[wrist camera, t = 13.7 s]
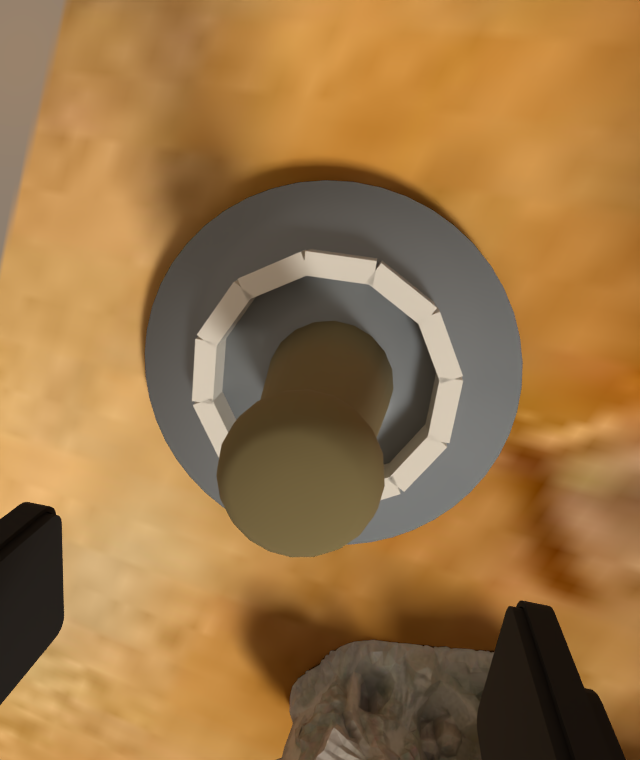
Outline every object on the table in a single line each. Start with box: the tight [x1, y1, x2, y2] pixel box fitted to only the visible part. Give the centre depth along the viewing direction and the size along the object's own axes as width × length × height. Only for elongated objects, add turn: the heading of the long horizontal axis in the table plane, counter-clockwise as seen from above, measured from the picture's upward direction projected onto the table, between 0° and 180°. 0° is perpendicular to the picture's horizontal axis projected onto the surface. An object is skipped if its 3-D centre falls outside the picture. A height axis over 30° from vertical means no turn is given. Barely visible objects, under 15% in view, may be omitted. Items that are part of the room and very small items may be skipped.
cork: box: [216, 321, 393, 557], centre depth 20 cm, size 6×6×11 cm
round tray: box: [145, 180, 522, 544], centre depth 25 cm, size 18×18×2 cm
